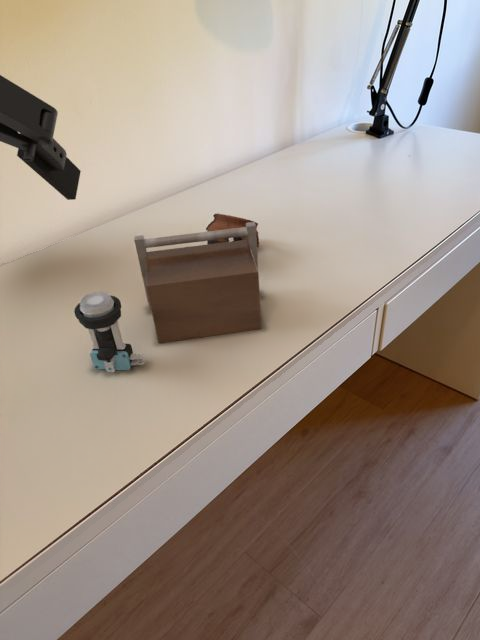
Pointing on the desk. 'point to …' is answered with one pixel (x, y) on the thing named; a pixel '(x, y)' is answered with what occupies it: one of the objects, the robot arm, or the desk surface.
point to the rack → (202, 284)
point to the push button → (106, 332)
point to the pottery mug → (228, 227)
